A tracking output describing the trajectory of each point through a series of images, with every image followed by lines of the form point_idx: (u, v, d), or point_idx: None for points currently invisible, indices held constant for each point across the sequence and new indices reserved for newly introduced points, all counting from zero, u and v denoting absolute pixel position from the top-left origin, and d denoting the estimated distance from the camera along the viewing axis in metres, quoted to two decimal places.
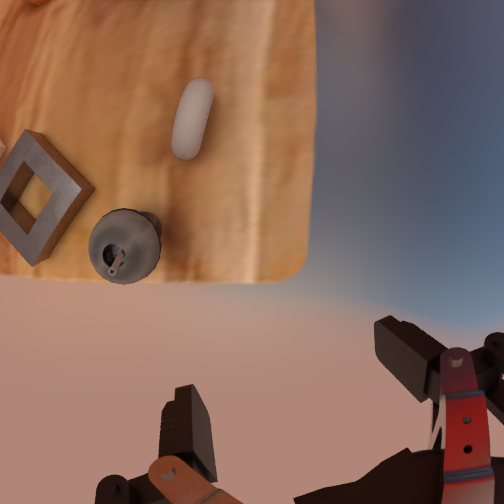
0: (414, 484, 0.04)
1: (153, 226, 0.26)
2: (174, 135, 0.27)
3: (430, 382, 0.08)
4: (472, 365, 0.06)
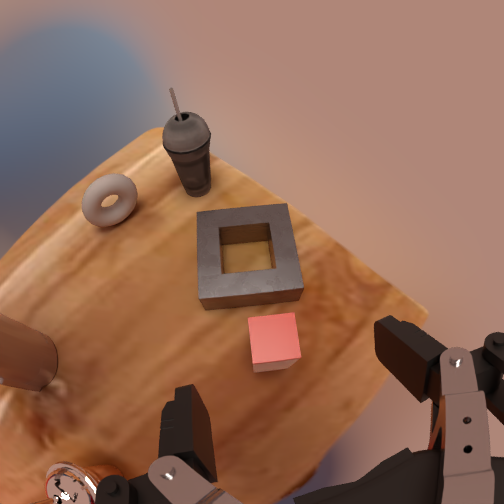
0: (414, 484, 0.04)
1: None
2: (119, 182, 0.40)
3: (430, 382, 0.08)
4: (472, 365, 0.06)
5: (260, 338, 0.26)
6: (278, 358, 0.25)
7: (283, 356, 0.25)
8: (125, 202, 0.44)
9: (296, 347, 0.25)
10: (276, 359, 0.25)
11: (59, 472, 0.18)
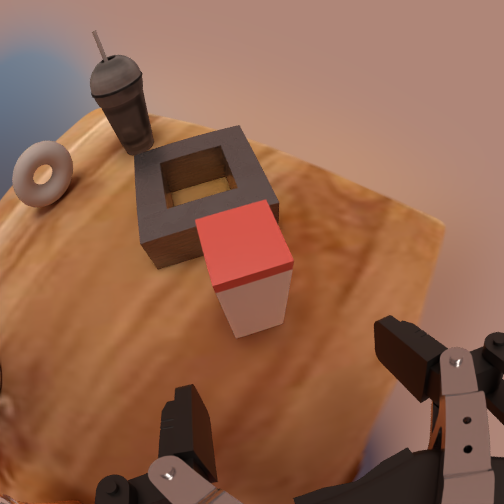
0: (414, 484, 0.04)
1: None
2: (49, 148, 0.29)
3: (430, 382, 0.08)
4: (472, 365, 0.06)
5: (219, 244, 0.16)
6: (255, 269, 0.15)
7: (263, 264, 0.15)
8: (59, 172, 0.33)
9: (281, 246, 0.16)
10: (252, 271, 0.15)
11: None
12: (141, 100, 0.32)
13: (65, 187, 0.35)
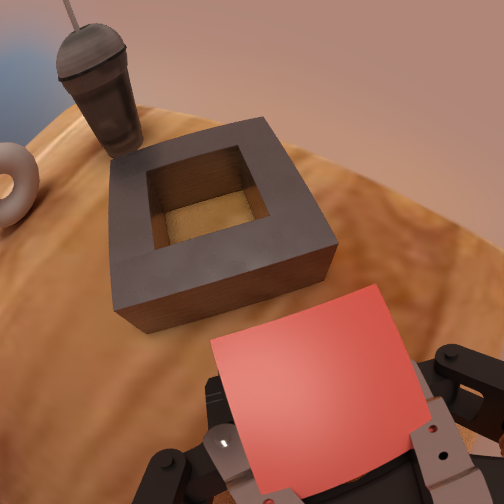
0: (414, 484, 0.04)
1: None
2: (6, 152, 0.19)
3: None
4: None
5: (276, 413, 0.06)
6: (362, 466, 0.05)
7: (379, 454, 0.05)
8: (21, 183, 0.22)
9: (417, 406, 0.05)
10: (356, 473, 0.05)
11: None
12: (124, 83, 0.22)
13: (30, 202, 0.24)
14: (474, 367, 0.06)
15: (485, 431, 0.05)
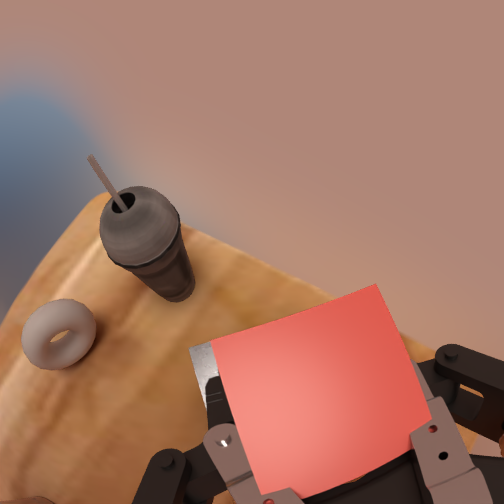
0: (414, 484, 0.04)
1: None
2: (62, 317, 0.23)
3: None
4: None
5: (277, 413, 0.06)
6: (362, 466, 0.05)
7: (379, 454, 0.05)
8: (81, 334, 0.27)
9: (417, 406, 0.05)
10: (356, 473, 0.05)
11: None
12: (181, 253, 0.26)
13: (91, 344, 0.29)
14: (474, 367, 0.06)
15: (485, 431, 0.05)
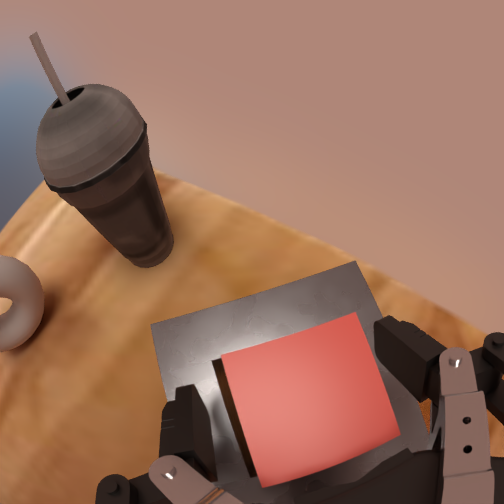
0: (414, 484, 0.04)
1: None
2: None
3: (429, 382, 0.08)
4: (471, 365, 0.06)
5: (271, 412, 0.07)
6: (338, 457, 0.06)
7: (352, 448, 0.07)
8: (22, 306, 0.18)
9: (384, 412, 0.07)
10: (332, 462, 0.06)
11: None
12: (148, 184, 0.17)
13: (37, 322, 0.20)
14: None
15: None
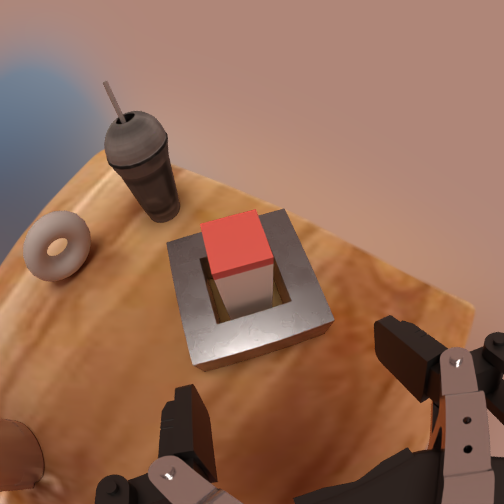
0: (414, 484, 0.04)
1: None
2: (62, 222, 0.28)
3: (430, 382, 0.08)
4: (472, 365, 0.06)
5: (217, 243, 0.21)
6: (244, 262, 0.20)
7: (250, 259, 0.20)
8: (76, 245, 0.31)
9: (265, 246, 0.21)
10: (241, 264, 0.20)
11: None
12: (167, 167, 0.31)
13: (84, 259, 0.33)
14: None
15: None
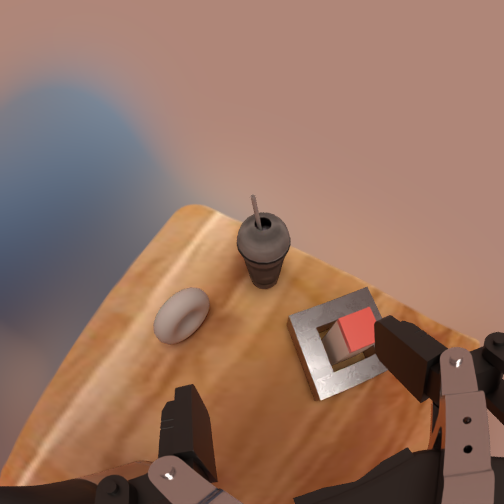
0: (414, 484, 0.04)
1: (237, 241, 0.39)
2: (196, 300, 0.39)
3: (430, 382, 0.08)
4: (472, 365, 0.06)
5: (351, 331, 0.32)
6: (368, 343, 0.31)
7: (371, 340, 0.31)
8: (200, 314, 0.42)
9: None
10: (367, 344, 0.31)
11: None
12: None
13: None
14: None
15: None
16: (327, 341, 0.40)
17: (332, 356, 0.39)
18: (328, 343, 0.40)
